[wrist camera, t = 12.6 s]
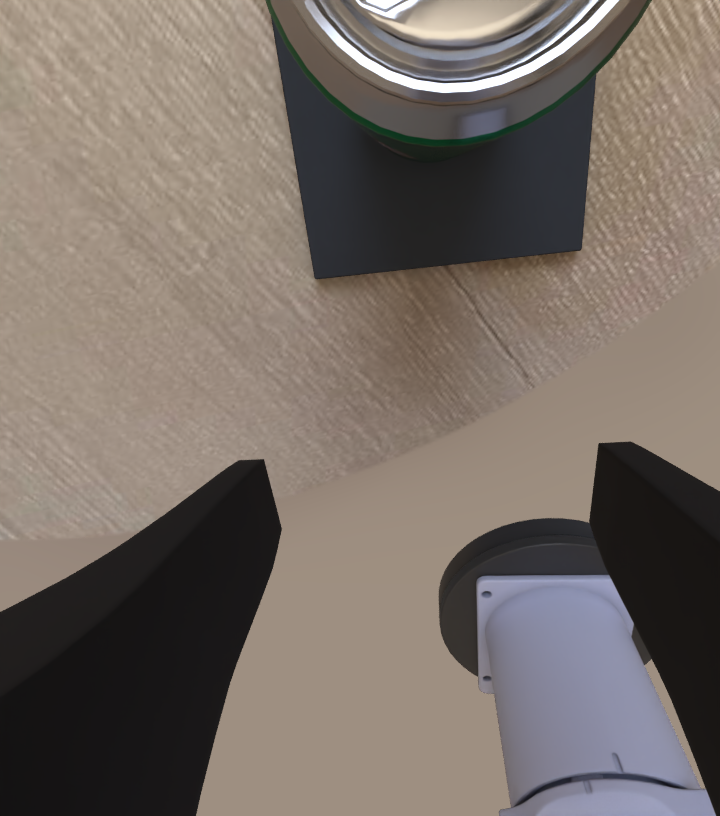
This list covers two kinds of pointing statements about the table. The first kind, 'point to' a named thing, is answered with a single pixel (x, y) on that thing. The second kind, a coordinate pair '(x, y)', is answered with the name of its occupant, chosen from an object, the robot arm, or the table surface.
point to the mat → (434, 188)
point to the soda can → (450, 63)
